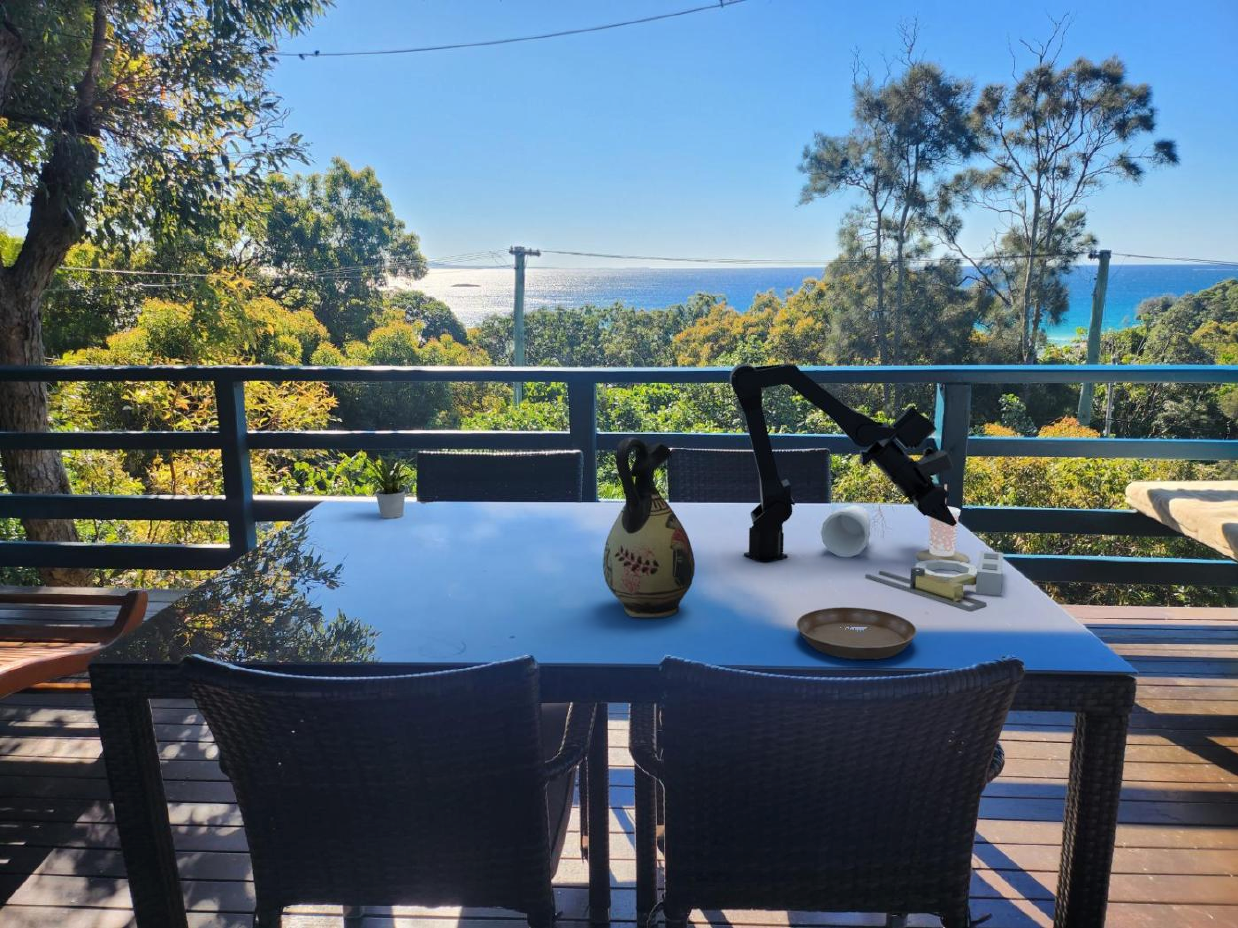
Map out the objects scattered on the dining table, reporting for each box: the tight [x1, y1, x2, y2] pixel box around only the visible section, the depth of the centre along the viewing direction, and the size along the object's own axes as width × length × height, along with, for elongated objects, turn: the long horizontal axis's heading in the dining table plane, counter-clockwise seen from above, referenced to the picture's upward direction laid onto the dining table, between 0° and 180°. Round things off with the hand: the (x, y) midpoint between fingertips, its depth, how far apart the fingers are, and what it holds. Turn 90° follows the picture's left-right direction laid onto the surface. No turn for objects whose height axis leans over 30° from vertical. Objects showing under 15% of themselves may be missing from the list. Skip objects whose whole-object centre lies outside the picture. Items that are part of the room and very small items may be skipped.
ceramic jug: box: [602, 436, 696, 618], centre depth 151 cm, size 17×15×30 cm
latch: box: [909, 566, 977, 602], centre depth 160 cm, size 8×10×3 cm
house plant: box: [360, 452, 416, 519], centre depth 221 cm, size 14×14×16 cm
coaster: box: [915, 549, 970, 564], centre depth 181 cm, size 10×10×1 cm
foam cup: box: [820, 504, 871, 558], centre depth 188 cm, size 10×9×13 cm
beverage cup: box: [928, 483, 961, 556], centre depth 179 cm, size 6×6×14 cm
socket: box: [915, 550, 1004, 597], centre depth 167 cm, size 15×14×4 cm
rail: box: [864, 569, 987, 612], centre depth 161 cm, size 4×23×1 cm, turn 33°
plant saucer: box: [796, 606, 918, 660], centre depth 138 cm, size 18×18×3 cm
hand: (950, 520), depth 179 cm, fingers closed on beverage cup, 6 cm apart
